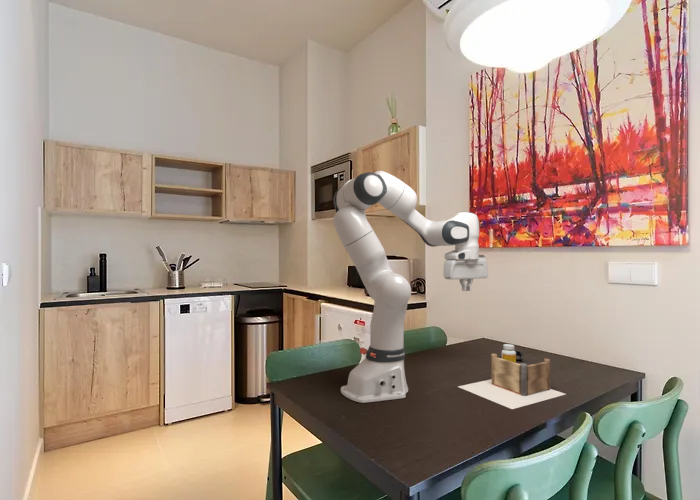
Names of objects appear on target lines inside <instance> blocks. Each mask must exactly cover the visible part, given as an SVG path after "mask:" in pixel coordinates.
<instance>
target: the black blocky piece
mask: <svg viewBox="0 0 700 500" xmlns="http://www.w3.org/2000/svg"><path fill="white" fill-rule="evenodd" d="M514 351H515V352H516V363H518V362H519V363H526V364H527V363H529V362H530V361H531V360H530V359H525V358H524V353H523V350H521V349H518V348H517V349H516V348H514ZM517 356H518V357H517Z"/></svg>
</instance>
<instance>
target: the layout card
mask: <svg viewBox="0 0 700 500" xmlns="http://www.w3.org/2000/svg"><path fill="white" fill-rule="evenodd" d="M457 388H460V389H462V390H465V391H467V392H470V394H471V393H472V394H473V395H477V396H479V397H480V398H484V399H486V400H488V401H491V402H493V403H496V404H498V405H501V406H503V407H506V408H508V409H510V410H515V409H519V408H522V407H526V406H529V405H532V404H537V403H539V402H543V401H546V400H547V401H548V400H552V399H554V398H559V397H563V396H566V395H567V393H564V392H561V391H558V390H555V389H552V388H550V390H545V391H541V392H537V393H533V394H530V395H527V396H522V395H521V393H517V392H514V391H512V390H509V389H506V388H504V387H501V386H498V385H495V384H492V383H491V379H490V378H489V379H486V380H482V381H477V382H472V383H468V384H464V385H459V386H457Z"/></svg>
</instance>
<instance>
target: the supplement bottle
mask: <svg viewBox="0 0 700 500" xmlns="http://www.w3.org/2000/svg"><path fill="white" fill-rule="evenodd" d="M502 347H503V349H502V350H501V355H500V356H501V359H504V360H508V361H511V362H514V363H517V361H516V357H517V355H516V352H515V351H514V349H515V345H514V344H509V343H504V344H503V345H502Z"/></svg>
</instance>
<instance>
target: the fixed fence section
mask: <svg viewBox="0 0 700 500" xmlns="http://www.w3.org/2000/svg"><path fill="white" fill-rule="evenodd" d="M543 359H544V360H543V361H542V362H538V363H533V364H527V363H523V362H520V364H521V395H522V396H527V395H530V394H533V393H537V392H541V391H545V390H550V389H551V359H550V358H543Z"/></svg>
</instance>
